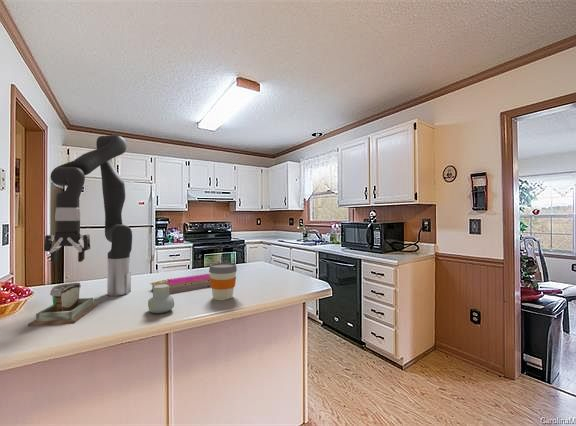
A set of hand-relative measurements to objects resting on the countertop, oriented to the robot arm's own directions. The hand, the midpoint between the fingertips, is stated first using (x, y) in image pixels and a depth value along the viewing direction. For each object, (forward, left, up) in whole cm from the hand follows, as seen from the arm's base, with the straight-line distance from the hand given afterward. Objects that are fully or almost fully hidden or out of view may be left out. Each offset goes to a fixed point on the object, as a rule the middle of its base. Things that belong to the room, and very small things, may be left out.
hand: (67, 262), depth 109 cm
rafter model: (-41, -33, -21) cm, 57 cm away
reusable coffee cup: (-58, -11, -20) cm, 62 cm away
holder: (0, 0, -20) cm, 20 cm away
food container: (+2, 0, -19) cm, 19 cm away
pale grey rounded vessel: (-34, +3, -20) cm, 40 cm away
